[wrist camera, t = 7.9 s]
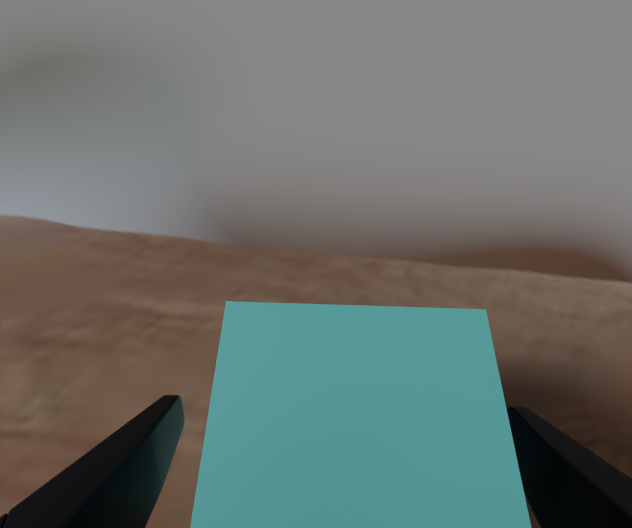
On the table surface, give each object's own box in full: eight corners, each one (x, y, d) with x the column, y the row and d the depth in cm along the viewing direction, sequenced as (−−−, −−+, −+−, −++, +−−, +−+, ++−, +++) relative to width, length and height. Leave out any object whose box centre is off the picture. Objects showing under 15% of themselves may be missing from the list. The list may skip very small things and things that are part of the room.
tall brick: (388, 489, 14) (568, 703, 4) (268, 485, 14) (164, 688, 4) (381, 363, 16) (485, 309, 6) (278, 359, 16) (225, 301, 6)
